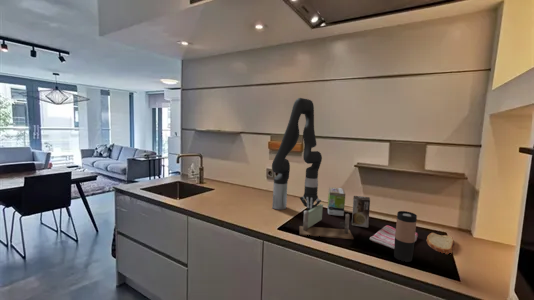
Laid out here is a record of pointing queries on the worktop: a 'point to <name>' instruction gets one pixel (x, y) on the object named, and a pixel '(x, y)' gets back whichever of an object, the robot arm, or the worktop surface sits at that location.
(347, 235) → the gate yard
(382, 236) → the dish towel
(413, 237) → the travel mug
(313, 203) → the robot arm
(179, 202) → the worktop surface
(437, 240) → the slice of bread
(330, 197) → the tea box
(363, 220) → the coffee box
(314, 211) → the gate
